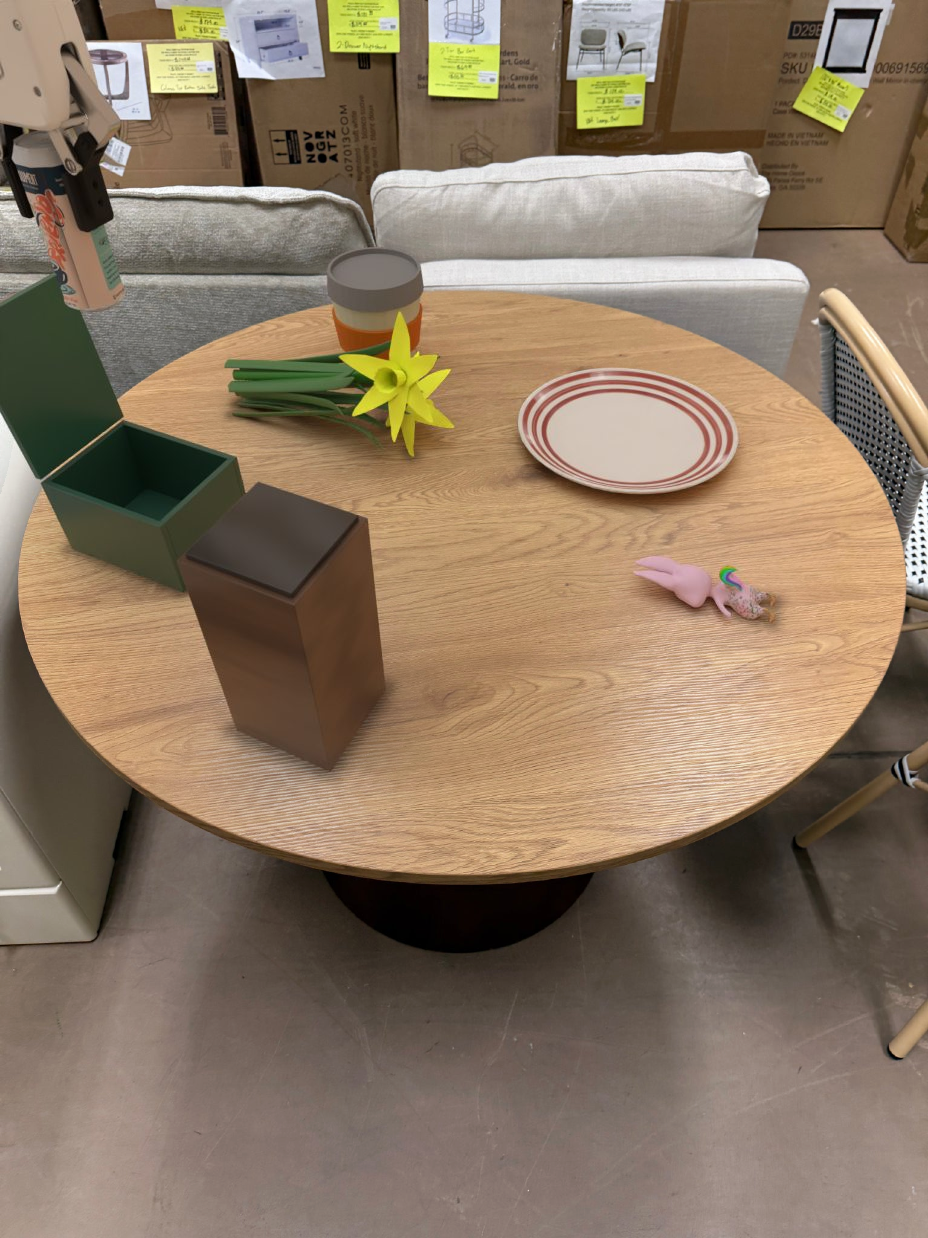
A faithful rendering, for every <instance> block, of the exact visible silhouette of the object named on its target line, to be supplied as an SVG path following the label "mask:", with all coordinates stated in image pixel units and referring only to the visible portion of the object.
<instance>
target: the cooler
mask: <svg viewBox="0 0 928 1238" xmlns="http://www.w3.org/2000/svg"><path fill="white" fill-rule="evenodd" d="M40 485H41V488H42V490H43V491H44V494H45V496H46V498H47V501H48V502H49V504H50V506H51V509H52V510H53V512H54V515H55V516H56V519H57V521H58V522H59V525H60V528H61V529H62V531H63V533H64V536H65V537H66V539H67V541H68V544H69V546H70V548H71V550H74V551H76V552H78V553H81V554H84V555H86V556H89V557H92V558H94V559H98V560H99V561H102V562H105V563H107V564H110V565H112V566H115V567H117V568H120V569H122V570H125V571H127V572H130V573H132V574H135V575H137V576H140V577H143V578H145V579H147V580H151V581H153V582H156V583H158V584H160V585H163V586H165V587H168V588H171V589H173V590H176V591H179V592H181V593H186V591H187V588H186V586H185V583H184V580H183V577H182V574H181V571H180V569H179V566H178V563H177V560H178V559H179V558H180V557H181V556H182V555H183V554H184V553H185V552H186V551H187V550H188V549H189V548H190V547H191V546H192V545H193V544H194V543H195V542H196V541H197V540H198V539H200V538H201V537H202V536H203V535H204V534H205V533H206V532H207V531H208V530H209V529H210V528H211V527H212V526H213V525H214V524H215V523H216V522H217V521H218V520H219V519H220V518H221V517H222V516H223V515H224V514H225V513H226V512H227V511H228V510H229V509H230V508H231V507H232V506H233V505H234V504H235V503H236V502H238V501H239V500H240V499H241V498H242V497H243V496H244V495H245V494H246V493H247V491H246V488H245V485H244V479H243V477H242V473H241V468H240V464H239V460H238V457H237V456H235V455H232V454H229V453H226V452H223V451H220V450H217V449H214V448H211V447H208V446H204V445H201V444H199V443H195V442H192V441H189V440H186V439H183V438H180V437H177V436H175V435H171V434H168V433H165V432H162V431H159V430H156V429H154V428H150V427H147V426H144V425H141V424H138V423H134V422H132V421H128V420H126V419H121V420H120V421H118V422H117V423H116V424H115V425H113V426H112V427H111V428H109V429H108V431H107V432H106V431H105V432H104V433H103V435H100V436H99V438H96V439H95V440H94V441H92V442H91V444H88V446H86V447H85V448H83V450H81V451H79V453H78V454H75V455H74V457H71V458H70V460H67V462H65V464H62V465H61V466H60V467H58V468H57V470H54V471H53V472H52V473H50V475H49V476H48V477H45V479H43V480H41V482H40Z"/></svg>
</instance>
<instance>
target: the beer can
mask: <svg viewBox="0 0 928 1238" xmlns="http://www.w3.org/2000/svg"><path fill="white" fill-rule="evenodd" d="M67 134H68V136H69V138H70V140H71V143H72V145H73V147H74V145H75V142H76V140H75V139H74V138H73V137H72V135H71V133H70V132H67ZM13 141H14V146H13V154H12V160H13V162H14V163H15V164H16V167H17V170H18V173H19V175H20V178H21V181H22V184H23V186H24V189H25V192H26V195H27V197H28V200H29V203H30V206H31V208H32V211H33V214H34V217H33V218H34V220H35V222H36V224H37V227H38V230H39V232H40V235H41V238H42V241H43V244H44V247H45V249H46V251H47V252H46V253H47V255H48V258H49V260H50V263H51V265H52V268H53V272H55V274H56V277H57V280H58V282H59V285H60V288H61V291H62V293H63V296H64V302H65V304H66V305H68V306H69V307H71V308H74V309H76V310H80V312H81V313H100V312H104V311H105V312H106V311H107V310H108V311H109V310H110V309H113V308H115V307H116V306H117V305H118V304H119V303H120V302H121V301H122V300H123V299H124V298H125V296H126V289H125V288H124V284H123V281H122V278H121V275H120V272H119V269H118V265H117V262H116V258H115V255H114V253H113V248H112V246H111V242H110V239H109V236H108V233H107V229H106V226H105V224H104V225H102V226H100V227H98V228H96V229H94V230H93V231H91V232H88V233H87V232H83V231H80V230H79V228H78V226H77V224H76V221H75V218H74V214H73V211H72V208H71V205H70V202H69V199H68V196H67V193H66V190H65V187H64V184H63V181H62V176H61V174H63V173H65V172H67V170H66V168H65V167H64V165H63V163H62V161H61V159H60V157H59V155H58V153H57V151H56V149H55V147H54V145H53V143H52V141H51V139H50V137H49V135H48V133H47V131H40V130H35V131H30V132H29V133H26V134H22V135H21V136H19V137H17V138H16V139H14V140H13Z"/></svg>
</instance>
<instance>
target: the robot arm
mask: <svg viewBox="0 0 928 1238" xmlns="http://www.w3.org/2000/svg"><path fill="white" fill-rule="evenodd" d="M121 127H122V121H121V118H120V117H119V115H118V113H117V112H116V110H115V109H114V108H113V106H111V104H110V103H109V101H108V100H107V98H106V97H105V96H104V94H103V93H102V92H101V90H100V89H99V84H98V80H97V75H96V72H95V68H94V64H93V61H92V57H91V53H90V50H89V48H88V44H87V41H86V38H85V35H84V32H83V28H82V26H81V22H80V19H79V17H78V14H77V11H76V9H75V6H74V3H73V0H0V160H1V161H0V163H1V166H2V168H3V171H4V174H5V176H6V179H7V182H8V184H9V188H10V190H11V192H12V196H13V198H14V201H15V203H16V206H17V209H18V211H19V214H20V216H21V217H23V218H25V219H29V220H30V219H33V218H35V217H34V214H33V211H32V208H31V206H30V203H29V200H28V197H27V195H26V192H25V189H24V186H23V184H22V181H21V178H20V175H19V173H18V170H17V167H16V164H15V163H14V162H13V160H12V154H13V146H14V141H13V140H14V139H16V138H17V137H19V136H21V135H22V134H26V133H30V130H35V131H47V133H48V135H49V137H50V139H51V141H52V143H53V145H54V147H55V149H56V151H57V153H58V155H59V157H60V159H61V161H62V163H63V165H64V167H65V168H66V170H67V172H65V173H63V174H61V176H62V181H63V184H64V187H65V190H66V193H67V196H68V199H69V202H70V205H71V208H72V211H73V214H74V218H75V221H76V224H77V226H78V228H79V230H80V231H83V232H87V233H88V232H91V231H93V230H94V229H96V228H98V227H100V226H102V225H104V226H105V225H106V224H107V223H109V222H111V221H112V220H114V218H115V213H114V209H113V206H112V202H111V199H110V196H109V193H108V190H107V187H106V186H107V185H106V183H105V179H104V175H103V172H102V168H101V166H100V165H101V164H103V163H104V162H105V152H106V151H107V148H108V147H109V144H110V141H111V140H112V139H113V138H114V137H115V135H116V134H117V132H118V131H119V130H120V129H121ZM70 129H73V131H74V133H75V136H76V140H75V145H74V147H73V145H72V143H71V140H70V138H69V136H68V134H67V133H68V132H67V131H68V130H70Z"/></svg>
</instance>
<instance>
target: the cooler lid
mask: <svg viewBox="0 0 928 1238" xmlns="http://www.w3.org/2000/svg"><path fill="white" fill-rule="evenodd" d="M0 415H1V417H2V418H3V420H4V422H5V424H6V426H7V428H8V430H9V431H10V433H11V435H12V437H13V439H14V441H15V443H16V444H17V446H18V448H19V450H20V452H21V454H22V455H23V458H24V460H25V462H26V463H27V465H28V467H29V469H30V471H31V473H32V474H33V476H34V478H35V479H37V480H41V481H43V480H44V478H47V476H48V475H49V474H52V473H53V472H54V471H56V469H58V468H60V467H61V466H62V465H64V463H66V461H67V462H68V461H69V459H71V458H73V456H75V455H77V453H78V452H81V451H82V449H85V448H86V447H87V445H88V446H89V445H90V443H92V442H94V441H95V440H96V439H98V437H100V436H102V434H104V433H106V431H107V430H110V429H111V428H112V427H113V426H115V425H116V424H117V423H119V422H120V421H121V420H123V418H124V417H125V416H124V413H123V410H122V408H121V406H120V403H119V401H118V398H117V396H116V394H115V391H114V389H113V387H112V384H111V382H110V379H109V377H108V373H107V371H106V370H105V367H104V364H103V362H102V359H101V358H100V355H99V353H98V350H97V348H96V345H95V343H94V341H93V338H92V336H91V334H90V331H89V329H88V327H87V323H86V322H85V319H84V317H83V315H82V311H80V310H76V309H74V308H71V307H69V306H68V305H66V304H65V302H64V296H63V293H62V291H61V288H60V285H59V282H58V280H57V277H56V274H55V271H53V272H52V273H50V274H48V275H46V276H45V277H43V278H41V279H38V280H37V281H35V282H34V283H32V284H30V285H29V286H27V287H25V288H24V289H22V290H19V291H18V292H16V293H13V292H12V293H11V294H8V295H7V296H5V297H3V298H1V299H0Z"/></svg>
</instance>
